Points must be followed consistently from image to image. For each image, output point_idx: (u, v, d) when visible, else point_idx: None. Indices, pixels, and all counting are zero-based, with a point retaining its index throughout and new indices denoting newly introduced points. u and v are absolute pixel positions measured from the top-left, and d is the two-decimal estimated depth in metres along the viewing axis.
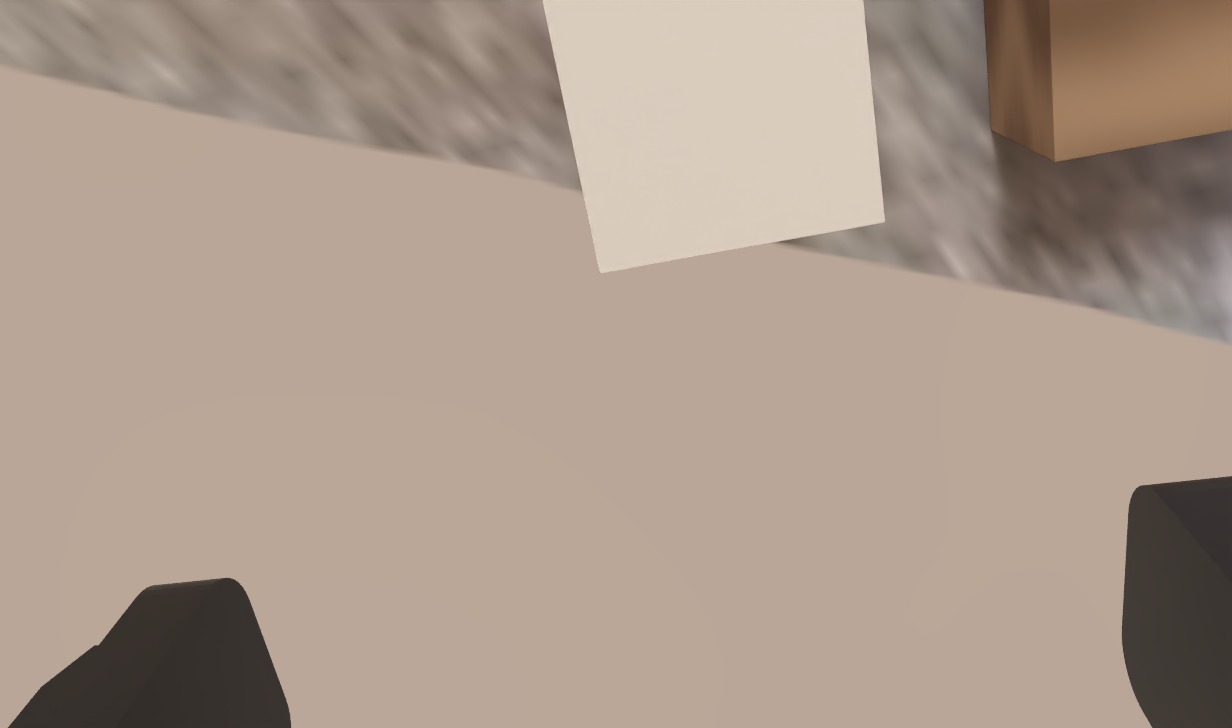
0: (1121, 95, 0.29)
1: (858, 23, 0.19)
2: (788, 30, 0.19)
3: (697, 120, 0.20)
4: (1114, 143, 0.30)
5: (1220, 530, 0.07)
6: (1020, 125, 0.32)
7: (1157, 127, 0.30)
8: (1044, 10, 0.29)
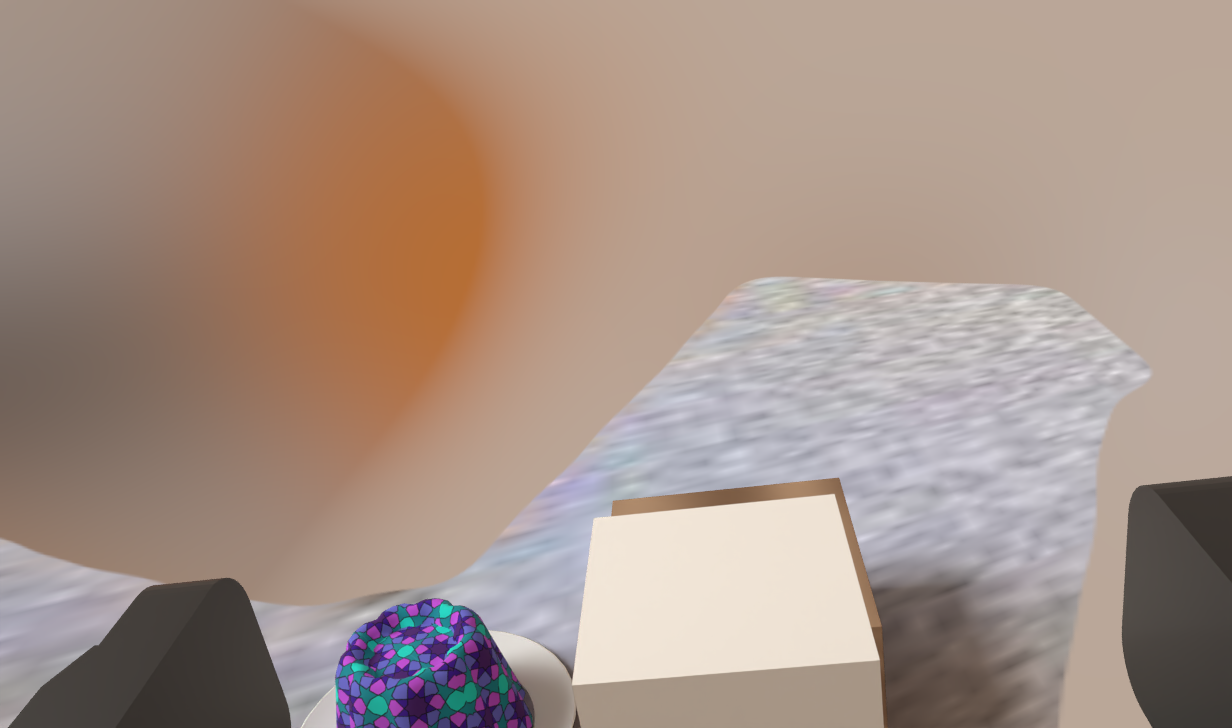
0: None
1: (673, 512, 0.25)
2: (667, 544, 0.24)
3: (729, 591, 0.22)
4: (866, 595, 0.36)
5: (1220, 530, 0.07)
6: None
7: None
8: None
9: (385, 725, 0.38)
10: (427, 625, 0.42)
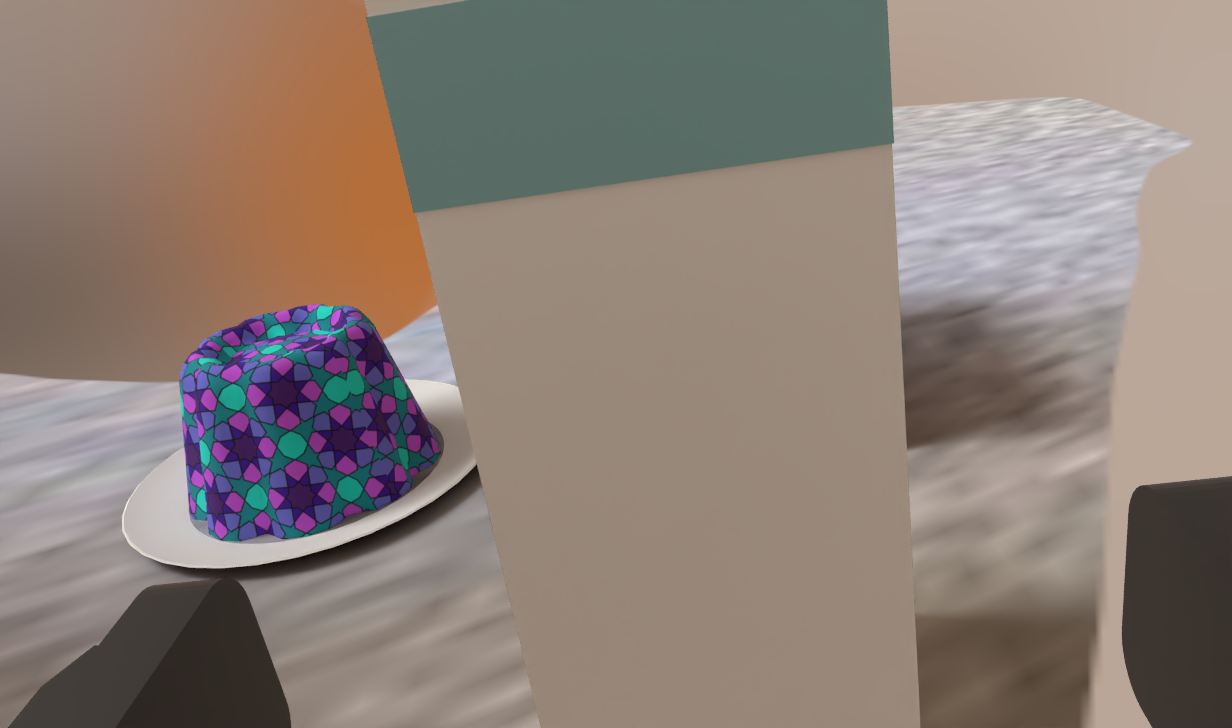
0: None
1: None
2: None
3: None
4: None
5: (1220, 530, 0.07)
6: None
7: None
8: None
9: (244, 424, 0.29)
10: (301, 331, 0.33)
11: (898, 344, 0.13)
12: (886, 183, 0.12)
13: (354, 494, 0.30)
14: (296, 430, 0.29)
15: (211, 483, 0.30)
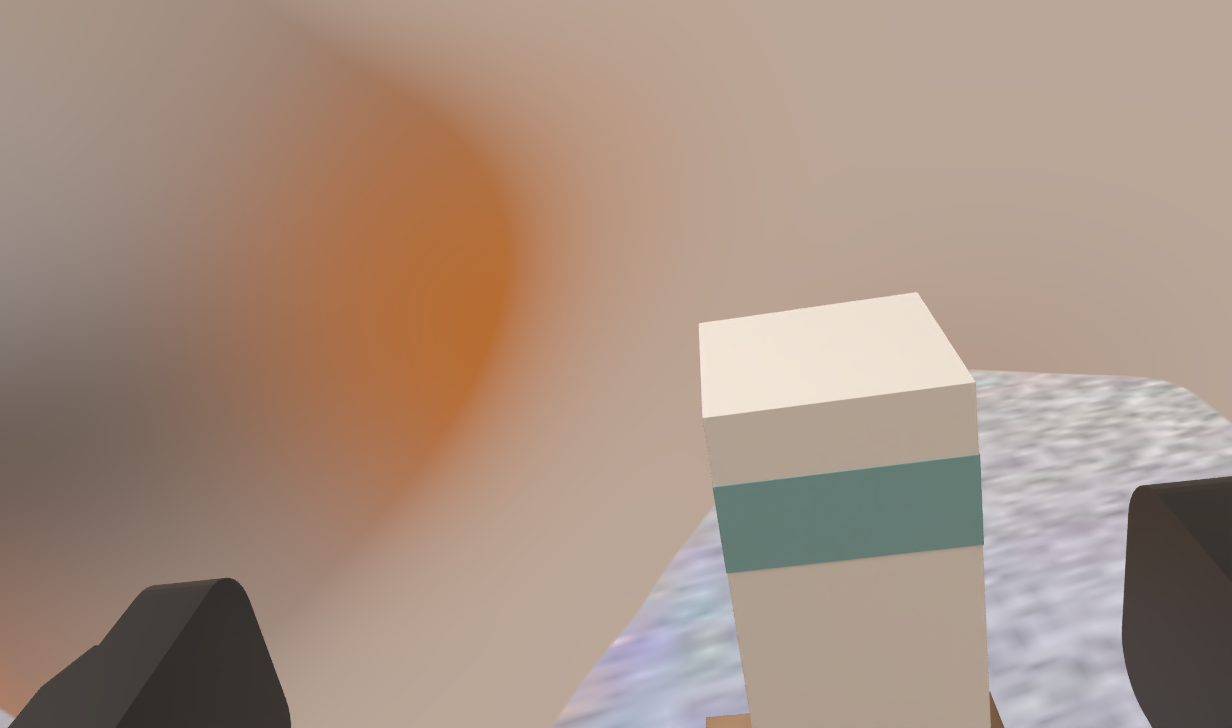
0: None
1: (771, 314, 0.28)
2: (770, 332, 0.27)
3: (832, 354, 0.25)
4: None
5: (1220, 530, 0.07)
6: None
7: None
8: None
9: None
10: None
11: (984, 636, 0.25)
12: (979, 562, 0.24)
13: None
14: None
15: None
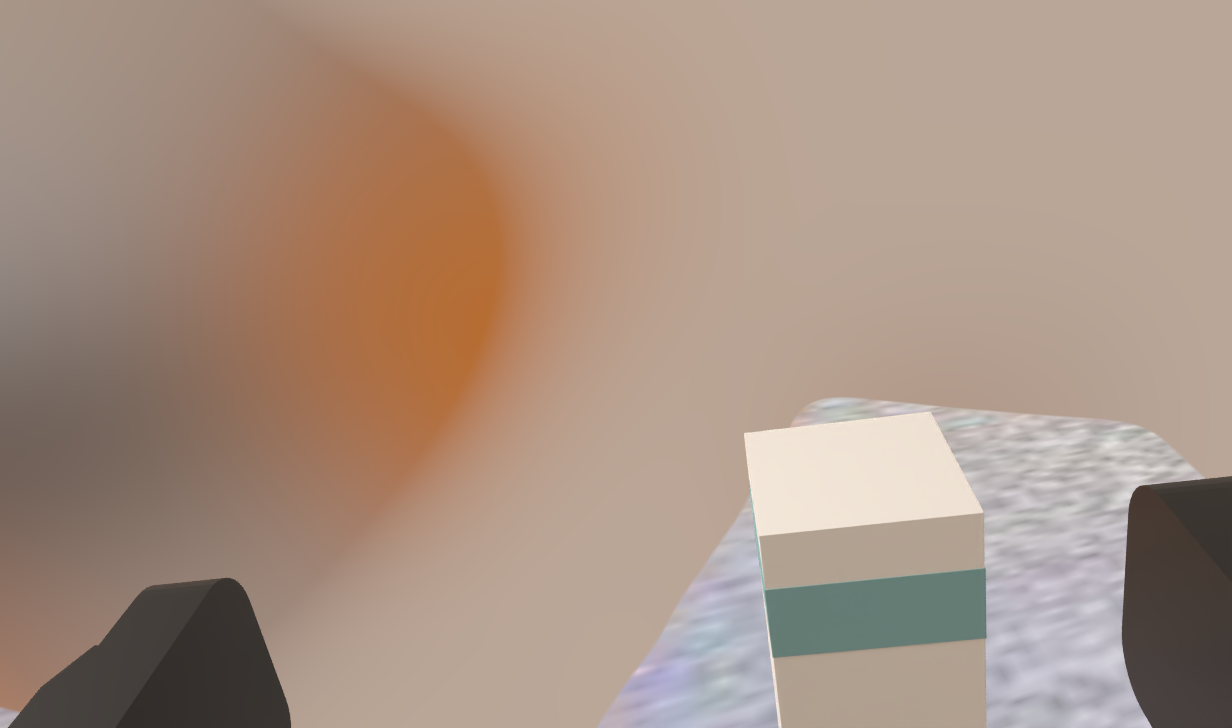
0: None
1: (806, 427, 0.33)
2: (807, 448, 0.32)
3: (862, 475, 0.30)
4: None
5: (1220, 530, 0.07)
6: None
7: None
8: None
9: None
10: None
11: (984, 710, 0.30)
12: (982, 652, 0.29)
13: None
14: None
15: None
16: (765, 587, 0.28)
